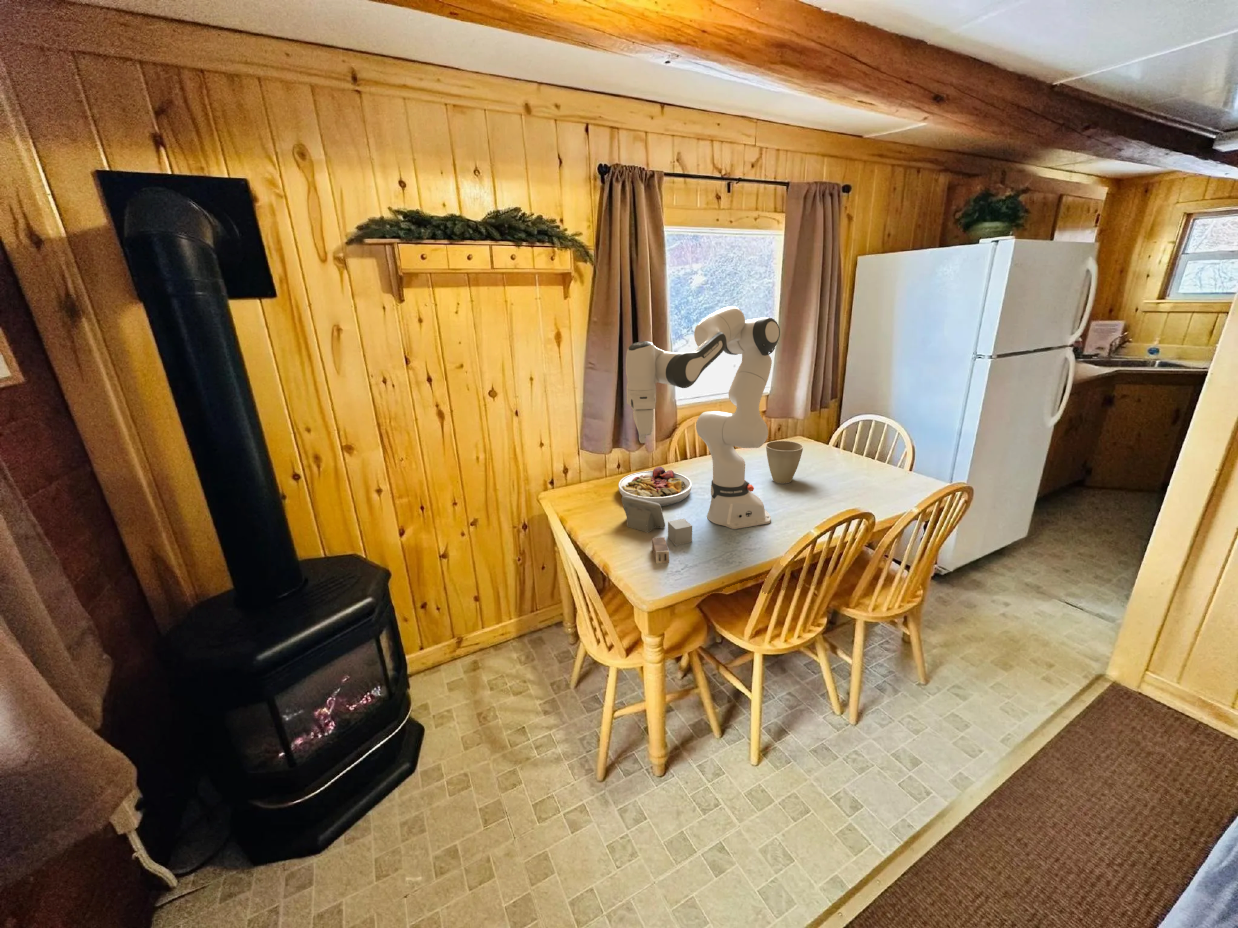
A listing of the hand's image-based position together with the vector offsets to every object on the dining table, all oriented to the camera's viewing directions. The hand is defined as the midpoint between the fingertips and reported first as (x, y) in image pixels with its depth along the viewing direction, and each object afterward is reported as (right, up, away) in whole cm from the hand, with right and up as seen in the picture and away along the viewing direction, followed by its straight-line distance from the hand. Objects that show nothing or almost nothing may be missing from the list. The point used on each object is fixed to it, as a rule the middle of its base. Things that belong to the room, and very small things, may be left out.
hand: (642, 441), depth 148 cm
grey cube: (+13, -32, +12) cm, 37 cm away
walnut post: (+6, -36, -2) cm, 36 cm away
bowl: (+8, -20, +50) cm, 54 cm away
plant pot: (+63, -14, +58) cm, 87 cm away
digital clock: (+2, -29, +23) cm, 37 cm away
